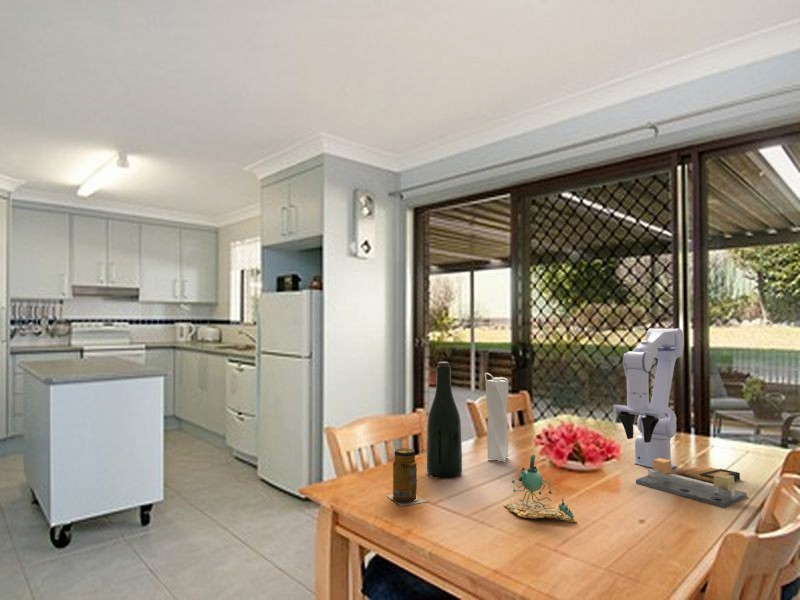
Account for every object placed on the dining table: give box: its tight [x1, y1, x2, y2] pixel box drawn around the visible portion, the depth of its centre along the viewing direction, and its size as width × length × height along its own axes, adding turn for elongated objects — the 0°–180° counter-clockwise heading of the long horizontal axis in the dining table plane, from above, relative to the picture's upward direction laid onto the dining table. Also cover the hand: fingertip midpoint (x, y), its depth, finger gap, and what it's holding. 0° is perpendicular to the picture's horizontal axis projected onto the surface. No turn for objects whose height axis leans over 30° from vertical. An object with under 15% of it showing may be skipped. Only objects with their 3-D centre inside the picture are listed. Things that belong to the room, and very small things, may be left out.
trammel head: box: [651, 458, 673, 479], centre depth 136 cm, size 3×7×4 cm, turn 124°
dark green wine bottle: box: [426, 361, 463, 479], centre depth 146 cm, size 10×10×33 cm
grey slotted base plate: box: [635, 468, 748, 508], centre depth 131 cm, size 22×13×6 cm, turn 35°
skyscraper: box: [484, 372, 509, 462], centre depth 161 cm, size 8×8×28 cm
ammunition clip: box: [677, 465, 741, 484], centre depth 141 cm, size 11×2×12 cm
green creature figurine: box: [503, 454, 578, 523], centre depth 115 cm, size 10×18×15 cm, turn 43°
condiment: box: [386, 447, 427, 507], centre depth 125 cm, size 7×8×12 cm
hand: (638, 440), depth 142 cm, fingers open, 5 cm apart
